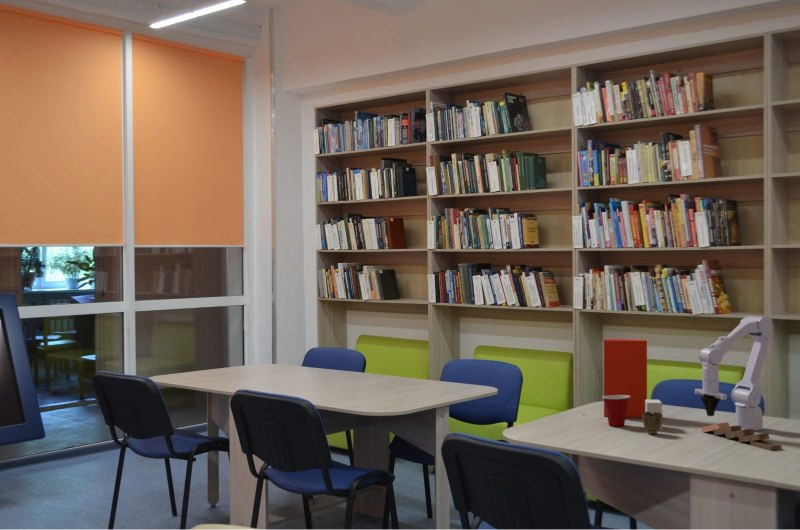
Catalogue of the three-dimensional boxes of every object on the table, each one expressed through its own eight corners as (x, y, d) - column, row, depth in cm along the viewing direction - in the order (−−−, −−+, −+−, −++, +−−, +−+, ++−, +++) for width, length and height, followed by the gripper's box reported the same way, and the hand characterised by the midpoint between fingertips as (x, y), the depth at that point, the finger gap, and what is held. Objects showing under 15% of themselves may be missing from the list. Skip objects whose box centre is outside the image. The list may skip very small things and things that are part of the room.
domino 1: (711, 426, 310) (728, 422, 302) (712, 431, 309) (729, 427, 301) (701, 427, 308) (717, 423, 300) (702, 432, 307) (719, 428, 299)
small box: (662, 430, 311) (662, 403, 311) (647, 429, 312) (647, 402, 312) (659, 426, 319) (659, 399, 319) (645, 425, 320) (645, 399, 320)
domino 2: (723, 429, 304) (740, 425, 296) (724, 434, 303) (742, 430, 295) (713, 430, 302) (730, 426, 294) (714, 435, 301) (731, 431, 294)
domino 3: (735, 432, 298) (753, 428, 291) (736, 437, 298) (754, 434, 290) (724, 433, 297) (742, 429, 289) (726, 438, 296) (744, 435, 288)
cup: (663, 432, 306) (663, 411, 306) (661, 436, 300) (661, 415, 299) (643, 431, 309) (643, 410, 309) (640, 435, 303) (640, 413, 303)
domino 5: (760, 439, 288) (781, 445, 279) (760, 445, 288) (781, 451, 279) (750, 440, 286) (770, 446, 277) (750, 446, 286) (770, 452, 277)
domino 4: (748, 435, 293) (768, 433, 285) (749, 441, 292) (769, 438, 284) (738, 436, 291) (758, 434, 283) (739, 442, 290) (759, 439, 282)
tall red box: (604, 413, 346) (604, 338, 346) (646, 415, 342) (646, 339, 341) (604, 416, 338) (603, 340, 338) (647, 418, 334) (646, 341, 334)
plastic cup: (615, 421, 328) (615, 392, 327) (636, 426, 318) (636, 396, 318) (596, 424, 322) (596, 394, 322) (616, 429, 313) (616, 398, 312)
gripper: (688, 377, 312) (688, 413, 312) (716, 383, 298) (716, 419, 298) (703, 376, 314) (703, 411, 315) (731, 382, 301) (731, 418, 301)
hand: (710, 415), depth 307 cm, fingers closed
